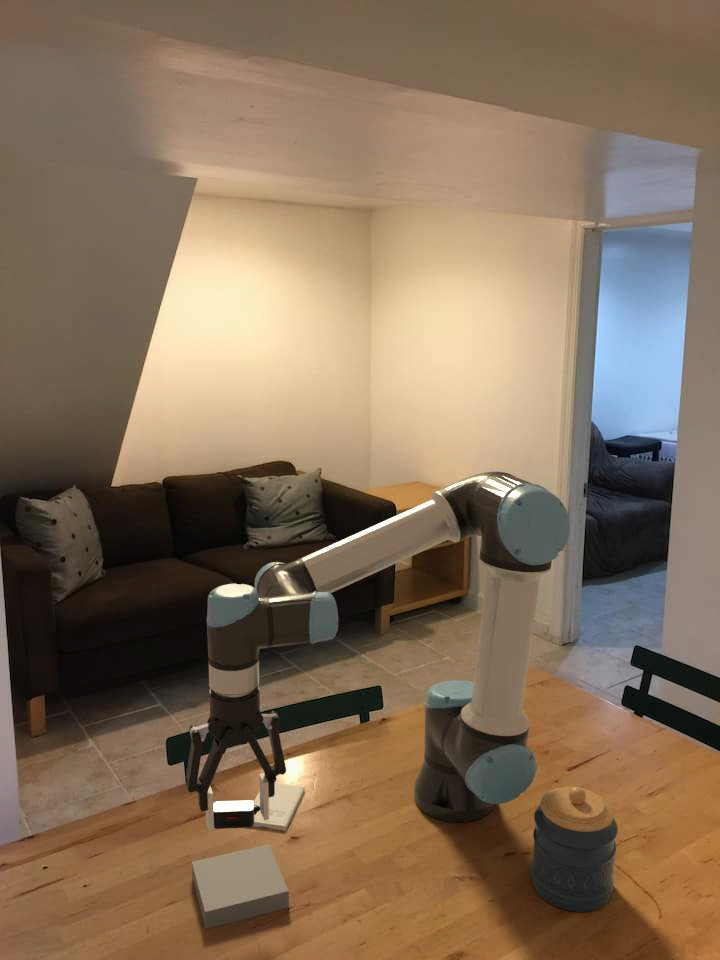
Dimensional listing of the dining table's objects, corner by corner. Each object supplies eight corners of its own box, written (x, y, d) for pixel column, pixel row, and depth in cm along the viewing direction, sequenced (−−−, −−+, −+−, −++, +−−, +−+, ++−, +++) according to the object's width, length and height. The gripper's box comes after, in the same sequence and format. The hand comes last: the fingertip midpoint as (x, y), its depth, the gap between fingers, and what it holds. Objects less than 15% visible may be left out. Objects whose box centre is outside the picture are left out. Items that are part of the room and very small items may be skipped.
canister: (599, 926, 125) (607, 823, 121) (518, 894, 132) (524, 795, 128) (621, 877, 136) (630, 781, 132) (546, 849, 142) (552, 757, 139)
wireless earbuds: (259, 829, 127) (258, 810, 126) (212, 830, 126) (212, 812, 126) (260, 811, 132) (260, 792, 131) (215, 812, 131) (214, 794, 130)
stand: (269, 859, 139) (269, 844, 139) (288, 907, 128) (288, 890, 128) (192, 877, 135) (191, 861, 134) (205, 929, 124) (205, 911, 123)
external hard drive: (304, 794, 159) (285, 833, 147) (264, 788, 161) (242, 827, 149) (304, 786, 159) (285, 825, 147) (264, 781, 160) (242, 819, 148)
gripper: (293, 666, 131) (294, 794, 136) (161, 686, 124) (166, 820, 128) (307, 686, 124) (308, 820, 129) (168, 709, 117) (174, 850, 122)
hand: (237, 820), depth 129 cm, fingers closed on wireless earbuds, 8 cm apart
